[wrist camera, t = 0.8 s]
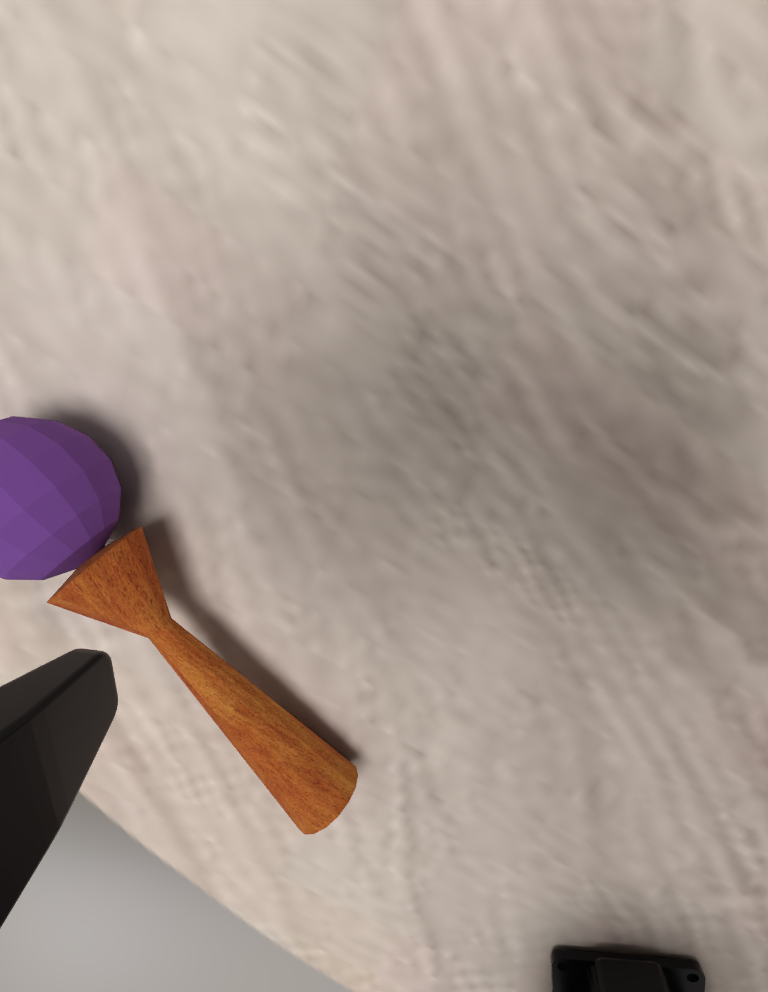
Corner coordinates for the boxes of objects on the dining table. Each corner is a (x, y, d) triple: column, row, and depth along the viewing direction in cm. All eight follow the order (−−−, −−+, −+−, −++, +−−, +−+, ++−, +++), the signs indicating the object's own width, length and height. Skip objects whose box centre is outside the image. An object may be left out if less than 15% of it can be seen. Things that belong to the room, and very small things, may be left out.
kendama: (252, 879, 23) (-144, 514, 19) (306, 757, 28) (3, 449, 24) (357, 851, 21) (-80, 416, 16) (395, 721, 26) (70, 366, 22)
